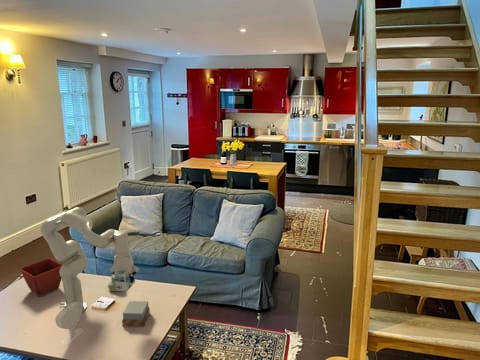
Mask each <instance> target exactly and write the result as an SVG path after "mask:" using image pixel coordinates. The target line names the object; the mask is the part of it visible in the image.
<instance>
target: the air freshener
mask: <svg viewBox="0 0 480 360" xmlns="http://www.w3.org/2000/svg"><path fill="white" fill-rule="evenodd" d="M107 289H109V290H110V291H111V292H117V290H116V283H115V275H114V274H113V273H112V275H111V277H110V282H108V284H107Z"/></svg>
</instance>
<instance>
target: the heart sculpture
mask: <svg viewBox="0 0 480 360" xmlns="http://www.w3.org/2000/svg"><path fill="white" fill-rule="evenodd" d="M82 313H83V312H82V303H79V302H72V303H70V304H69V305H68V306H67V308H66V309H65V308H63V309H62V308H61V310H60V311H59V312H58V313H57V315H56V316H55V324H56V327H58V328H60V329H64V330H68V331H69V333H68V334H69V335H67V336H66V337H65V338H64V339H63V340H62V341H60V344H61V345H63V346H64V345H65V346H67V345H69V344H71V343H72V342H73V341H74V340H75V339H76V338H77V337H78V336H79V335H81V334H82V333H83V332H84V329H83V328H76V326H77V324H78V323H79V321H80V318H81V317H82ZM75 328H76V329H75Z"/></svg>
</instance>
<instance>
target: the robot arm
mask: <svg viewBox="0 0 480 360" xmlns="http://www.w3.org/2000/svg"><path fill="white" fill-rule="evenodd" d="M87 216H88V215H87V212H86V210H85V209H84V208H82V207H79V206H77V207H74V208H72V209H69V210H66V211H63V212H62V213H58V214H57V215H54V216H52V217H50V218H48V219H46V220H45V221H44V222H42V223H41V225H40V234H41V235H42V237H43V239H45V241H46V243H47V244H48V246H49V248H50V250H51V253H52V255H53V256H54V258H55V260H56V262H58V263H64V262H65V261H67V260H68V261H67V262H65V263H64V264H62V265H63V266H62V267H61V268H60V271H59V273H60V276H61V283H62V287H63V292H64V299H65V300H64V301H65V302H60V304H59V305H60V308H61V309H62V308H63V309H66V308H67V306H68V305H69V304H70V303H72V302H79V303H82V313H83V312H85V311H86V310H87V303H86V302H84V298H83V289H82V283H81V280H80V278H78V275H79V274H80V273H82V272H83V271H84V270H86V269H87V268H88V266H89V262H88V258H87V256H86V254H85V252H84V250H83V248H82V246H81V244H80V243H79V242H78V241H77V240H74V239H70V240H67V241H66V240H65V238H64V236H63V235H62V234H61V233H59V231H60V230H63V229H64V228H66V227H69V228H71V229H73V230H75V231H77V232H79V233H81V234H82V235H83V238H84V240H85V241H86V242H87V243H88V244H90V245H91V246H93V247H96V248H98V249H106V248H107V247H109V246H111V245H112V244H114V250H113V251H112V254H113V255H114V257H113V265H112V267H111V268H110V269H109V271H110V272H111V274H112V275H113V274H114V273H115V272H127V273H128V274H130V275H131V277H130V278H131V283H133V281H134V280H135V281H136V278H135V279H134V275H136V274H137V273H138V272H139V270H140V269H139V267H137V266H136V265H134V260H133V256H132V254H131V253H130V244H129V234H128V232H127V231H124V230H121V231H120V230H117V229H113V228H110V229H108V230H106V231H104V232H102V233H101V234H97V233H95V232H94V231H92V229H93V226H94V223H93V220H92V219H90V218H87ZM69 259H70V260H69ZM133 270H134V271H133ZM114 275H115V274H114Z"/></svg>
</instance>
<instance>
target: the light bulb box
mask: <svg viewBox="0 0 480 360" xmlns="http://www.w3.org/2000/svg"><path fill="white" fill-rule="evenodd" d="M133 271H135V269H134V270H133ZM114 274H115V283H116V290H117V291H119V292H128V291H129V290H130V289H131V288H132V287H133V286H134V284H135V283H136V276H135V275H136V274H135V275H134V279H135V280H134V281H133V283H131V278H130V277H131V275H130V274H128V273H127V272H115V273H114ZM117 291H116V292H117Z"/></svg>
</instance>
